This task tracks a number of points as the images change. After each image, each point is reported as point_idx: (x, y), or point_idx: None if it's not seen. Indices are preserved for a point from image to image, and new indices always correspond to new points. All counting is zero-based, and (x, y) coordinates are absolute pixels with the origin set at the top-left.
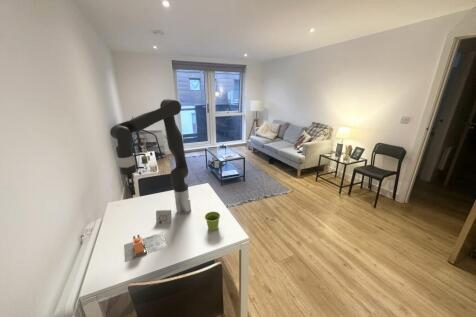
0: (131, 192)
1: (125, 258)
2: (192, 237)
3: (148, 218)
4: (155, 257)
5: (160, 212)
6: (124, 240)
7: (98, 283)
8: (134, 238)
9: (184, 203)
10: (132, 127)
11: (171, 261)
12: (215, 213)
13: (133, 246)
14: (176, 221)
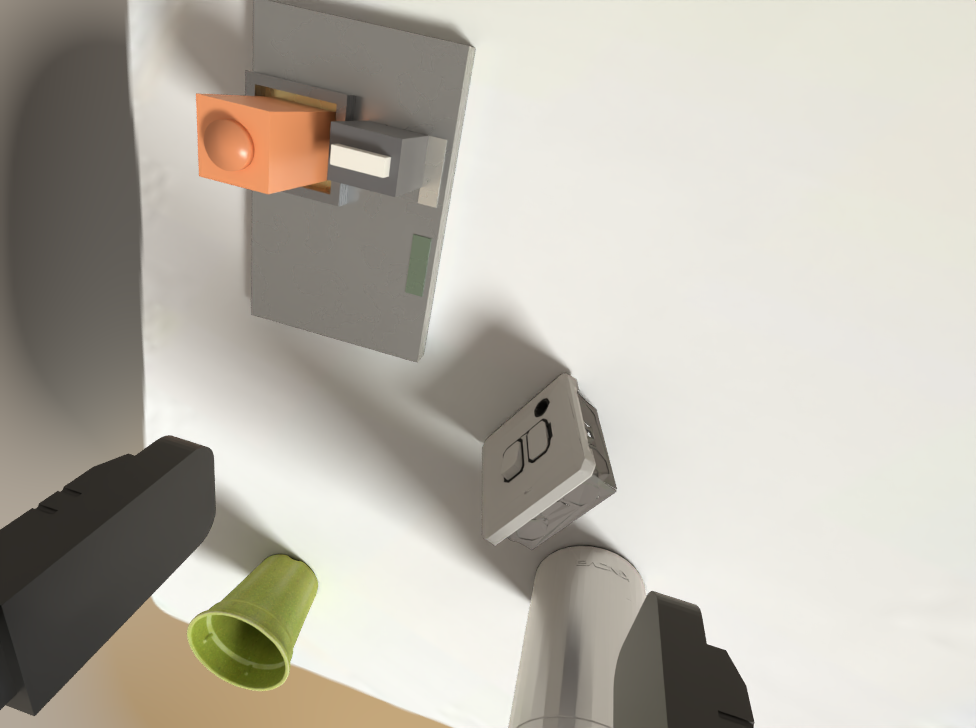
0: (33, 515)
1: (289, 12)
2: (278, 462)
3: (729, 364)
4: (229, 213)
5: (548, 477)
6: (570, 70)
7: None
8: (364, 141)
9: (520, 658)
10: None
11: (153, 276)
12: (272, 676)
13: (394, 114)
14: None
